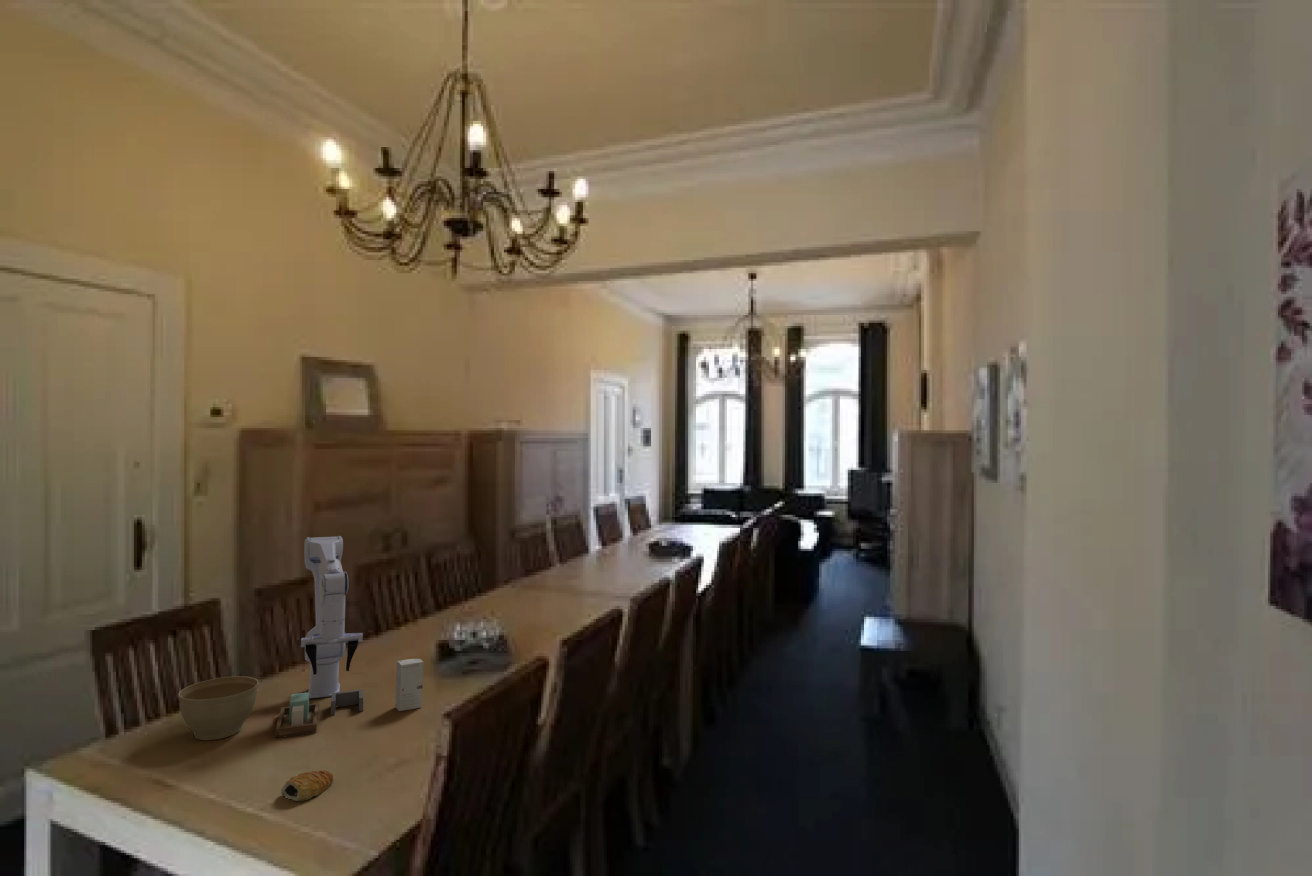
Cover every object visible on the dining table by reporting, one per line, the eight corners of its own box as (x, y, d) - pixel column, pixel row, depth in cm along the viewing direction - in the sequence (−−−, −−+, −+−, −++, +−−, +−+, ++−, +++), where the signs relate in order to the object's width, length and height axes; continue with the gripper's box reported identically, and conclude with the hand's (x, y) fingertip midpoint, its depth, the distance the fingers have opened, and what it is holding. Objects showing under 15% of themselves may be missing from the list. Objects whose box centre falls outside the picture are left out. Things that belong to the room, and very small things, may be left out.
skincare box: (398, 712, 177) (400, 665, 177) (394, 706, 181) (395, 660, 181) (423, 707, 181) (424, 661, 181) (418, 702, 184) (419, 657, 185)
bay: (331, 706, 180) (331, 692, 180) (362, 702, 183) (363, 689, 183) (330, 715, 174) (331, 701, 174) (363, 711, 177) (363, 697, 177)
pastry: (318, 777, 142) (319, 759, 142) (342, 784, 139) (342, 766, 139) (277, 798, 134) (278, 778, 134) (301, 806, 131) (302, 786, 131)
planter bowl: (247, 714, 174) (248, 671, 174) (265, 733, 162) (266, 688, 163) (170, 731, 163) (172, 685, 163) (184, 754, 151) (186, 704, 151)
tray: (281, 715, 174) (281, 707, 174) (318, 710, 177) (319, 703, 177) (275, 737, 160) (275, 729, 160) (316, 732, 164) (316, 724, 164)
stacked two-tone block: (291, 713, 173) (291, 694, 173) (308, 711, 175) (309, 692, 175) (287, 728, 164) (288, 708, 164) (306, 726, 166) (306, 705, 166)
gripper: (300, 625, 172) (299, 679, 171) (363, 620, 178) (361, 673, 177) (302, 618, 178) (301, 671, 178) (362, 614, 184) (361, 665, 184)
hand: (331, 671), depth 178 cm, fingers open, 7 cm apart
